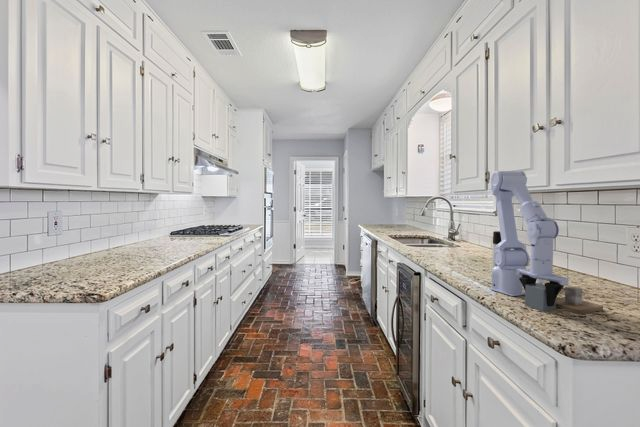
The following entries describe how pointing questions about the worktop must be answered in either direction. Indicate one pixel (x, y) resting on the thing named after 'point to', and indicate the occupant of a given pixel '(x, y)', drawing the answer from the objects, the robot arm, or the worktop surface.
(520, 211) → the robot arm
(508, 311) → the worktop surface
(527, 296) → the blue-grey block
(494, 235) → the spray can
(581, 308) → the brown base with post
